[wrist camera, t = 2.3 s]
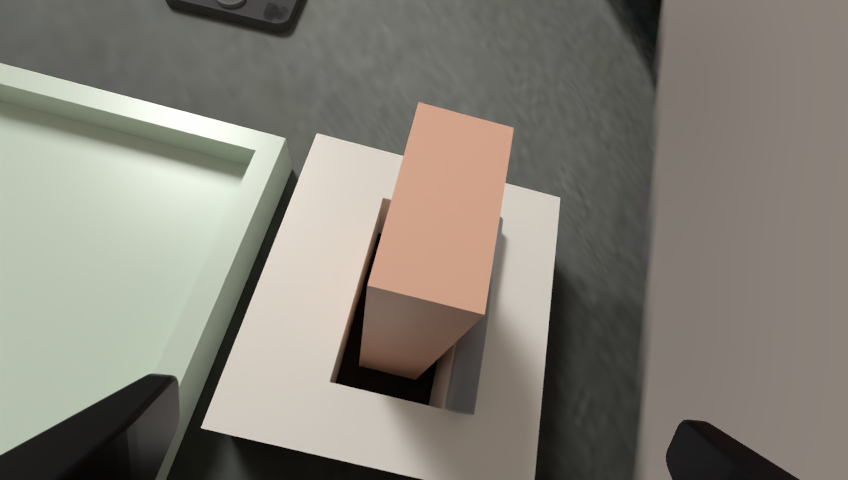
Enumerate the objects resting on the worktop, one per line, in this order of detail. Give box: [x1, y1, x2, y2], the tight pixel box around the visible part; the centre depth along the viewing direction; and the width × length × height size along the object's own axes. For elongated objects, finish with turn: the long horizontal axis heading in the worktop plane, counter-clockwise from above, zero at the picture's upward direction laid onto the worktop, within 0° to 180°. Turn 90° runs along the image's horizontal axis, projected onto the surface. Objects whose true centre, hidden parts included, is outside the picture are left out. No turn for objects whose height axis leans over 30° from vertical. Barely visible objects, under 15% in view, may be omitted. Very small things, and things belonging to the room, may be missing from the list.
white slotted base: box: [201, 133, 560, 480], centre depth 18 cm, size 12×11×4 cm
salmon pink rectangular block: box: [359, 102, 514, 380], centre depth 15 cm, size 5×2×11 cm, turn 168°
